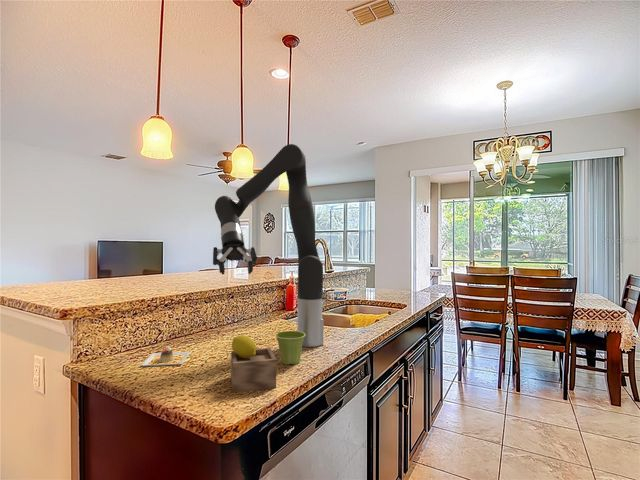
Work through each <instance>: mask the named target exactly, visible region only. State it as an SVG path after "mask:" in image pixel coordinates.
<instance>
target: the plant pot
mask: <svg viewBox="0 0 640 480" xmlns="http://www.w3.org/2000/svg"><path fill="white" fill-rule="evenodd" d="M304 337H305V333H303V332H298V331H297V330H287V331H280V332H277V333H276V334H275V338H276V341H277V343H278V350H279V351H278V352H279V358H280V360H279V361H280V362H281V364H283V365H298V364H299V363H300V362H301V357H302V356H301V355H302V349H303V346H302V343H303V340H304Z"/></svg>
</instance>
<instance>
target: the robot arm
mask: <svg viewBox="0 0 640 480" xmlns="http://www.w3.org/2000/svg"><path fill="white" fill-rule="evenodd" d="M306 165H307V162H306V155H305V153H304V151H303V150H302V149H301V148H300V147H299V145H297V144H294V143H289V144H286V145H285V146H283V147H282V148H281V149H280V150H279V151H278V152H277V153H276V155H274V157H273V158H272V159H271V160H270V161H269V162H268V163H267V164H266V165H265V166H264V167H263V168H262V169H261V170H260V171H258V173H256V174H255V175H253V176H252V177H251V178H250V179H249V180H247V181H246V182H245V183H244V184H243V185H241V186H240V187H238V189H237V190H235V194H236V195H235V196H237V197H236V198H237V199H238V201H237V202H235V201H234V200H233V199H232V198H231V197H230V196H227V195H222V196H219V197H218V198H217V199H216V200H215V203H214V211H215V214H216V216H217V219H218V221H219V223H220V239H221V248H218V247H217V246H216V247H215V246H214V247H213V249H212V265H213V266H218V268H219V269H218V270H219V273H220V274H221V275H225V270H226V269H225V264H226V263H227V262H228V261H230V262H233V261H236V262H237V261H238V262H239V261H240V262H242V263H244V264H246V265H247V266H246V267H247V272H248V274H249V275H251V274H252V273H253V271H254V267H253V266H254V265H257V260H258V256H257V253H256V249H255V247H254V246H252V247H251V248H246V246H245V241H244V240H245V239H244V236H243V235H244V234H243V230H242V227H241V226H242V225H241V221H240V217H241V216H242V215H243V214H244V212H245V210H246V209H247V208H248V207H249V206H250V204H251V203H252V202H254V201H255V200H256V199H257V198H258V197H260V196H261V195H263V193H264V192H265V191H266V190H267V189H268V188H269V187H270V186H271V185H272V183H273V182H275V180H276V179H277V178H278V177H280V176H281V175H283V174H286V177H287V178H286V179H287V183H288V199H287V200H288V201H287V202H288V212H289V220H290V224H291V228H292V232H293V235H294V239H295V243H296V248H297V258H298V260H297V261H298V263H297V264H298V265H297V324H296V325H297V326H296V327H297V330H296V331H298V332H303V333H305V337H304V340H303V343H302V348H303V347H304V348H305V347H306V348H316V347H319V346H323V345H324V326H325V325H324V321H325V319H324V318H323V290H324V265H323V261H321V259H320V256H319V253H318V248H317V244H316V222H315V213H314V208H313V207H314V206H313V202H312V197H311V192H310V189H309V187H308V180H307V168H306V167H307V166H306ZM220 254H222V255H221V258H218V257H219V255H220Z"/></svg>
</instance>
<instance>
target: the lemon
mask: <svg viewBox="0 0 640 480" xmlns="http://www.w3.org/2000/svg"><path fill="white" fill-rule="evenodd" d="M231 348H232V351H234V352H235V354H236V355H238V356H239V357H241V358H244V359H247V358H250V357H252V356H255V355H256V352H255V351H256V349H257V346H256V342H255V341H254V340H253V339H252V338H250V337H249V336H247V335H244V334H240V335H237V336H235V337H233V339H232V342H231Z"/></svg>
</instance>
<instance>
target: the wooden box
mask: <svg viewBox="0 0 640 480" xmlns="http://www.w3.org/2000/svg"><path fill="white" fill-rule="evenodd" d="M255 352H256V355H255V356H252V357H250V358H247V359H244V358H241V357H239V356H238V355H236V354H235V352H234V351H233V350H231V351H230V381H231V389H232V393H240V392H248V391H249V392H250V391H258V390H268V389H276V388H277V358H276V356H275V354H274V352H273V351H272V349H271V347H263V348H262V347H261V348H256V351H255Z"/></svg>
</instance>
